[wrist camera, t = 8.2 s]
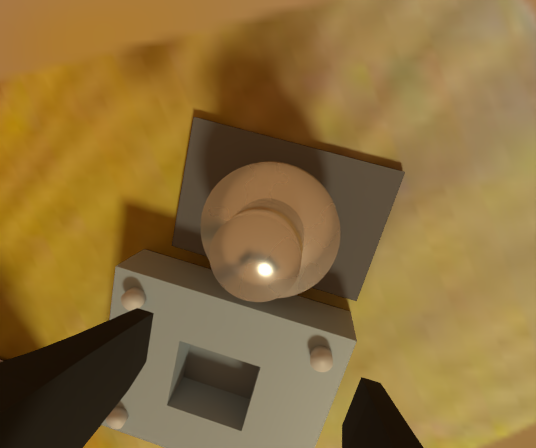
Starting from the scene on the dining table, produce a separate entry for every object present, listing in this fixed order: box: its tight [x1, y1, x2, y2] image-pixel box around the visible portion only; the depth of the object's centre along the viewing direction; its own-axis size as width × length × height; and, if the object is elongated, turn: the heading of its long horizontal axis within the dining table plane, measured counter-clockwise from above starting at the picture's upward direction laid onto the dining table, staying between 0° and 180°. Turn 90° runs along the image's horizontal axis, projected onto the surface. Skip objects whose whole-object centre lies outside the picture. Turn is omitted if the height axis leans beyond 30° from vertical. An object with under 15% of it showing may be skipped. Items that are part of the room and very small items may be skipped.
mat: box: [172, 117, 405, 301], centre depth 18 cm, size 12×8×1 cm, turn 76°
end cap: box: [201, 161, 340, 302], centre depth 15 cm, size 7×7×6 cm
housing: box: [101, 249, 357, 448], centre depth 20 cm, size 14×12×4 cm
